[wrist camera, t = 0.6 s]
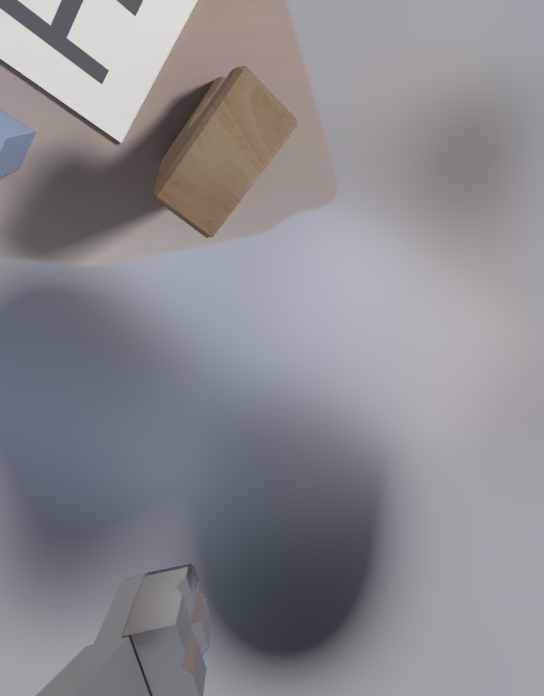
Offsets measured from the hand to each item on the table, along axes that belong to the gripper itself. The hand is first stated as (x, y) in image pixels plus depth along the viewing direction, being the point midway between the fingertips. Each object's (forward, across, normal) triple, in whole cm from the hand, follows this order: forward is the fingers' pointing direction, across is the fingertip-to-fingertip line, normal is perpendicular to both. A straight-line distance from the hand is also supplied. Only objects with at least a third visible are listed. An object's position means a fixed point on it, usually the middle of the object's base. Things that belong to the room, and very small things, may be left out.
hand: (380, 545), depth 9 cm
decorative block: (+43, +3, -21) cm, 48 cm away
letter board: (+38, +12, -34) cm, 52 cm away
